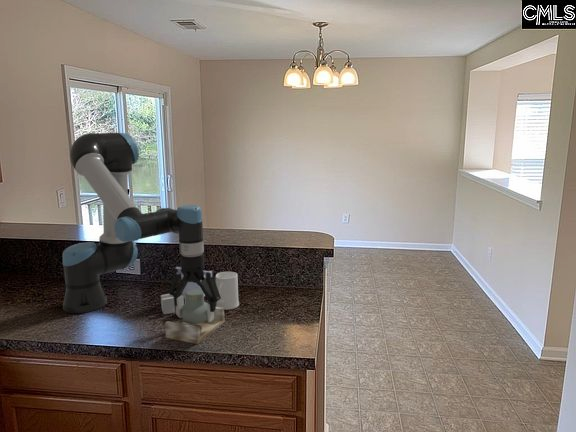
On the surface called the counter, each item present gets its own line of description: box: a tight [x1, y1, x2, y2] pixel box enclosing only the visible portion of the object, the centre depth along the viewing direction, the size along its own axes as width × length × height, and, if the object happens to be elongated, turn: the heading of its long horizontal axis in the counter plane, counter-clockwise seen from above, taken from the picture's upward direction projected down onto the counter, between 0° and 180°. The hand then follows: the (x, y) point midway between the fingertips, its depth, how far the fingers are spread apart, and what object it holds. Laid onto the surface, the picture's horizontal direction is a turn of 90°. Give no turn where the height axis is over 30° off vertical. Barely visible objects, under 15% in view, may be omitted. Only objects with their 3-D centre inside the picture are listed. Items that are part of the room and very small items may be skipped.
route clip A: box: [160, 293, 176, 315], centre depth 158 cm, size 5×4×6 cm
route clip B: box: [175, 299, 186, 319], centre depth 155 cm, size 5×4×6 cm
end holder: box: [164, 306, 226, 345], centre depth 144 cm, size 12×17×5 cm
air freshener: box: [182, 289, 208, 324], centre depth 142 cm, size 11×8×10 cm
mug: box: [215, 271, 240, 311], centre depth 161 cm, size 12×8×12 cm
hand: (195, 317), depth 143 cm, fingers closed on air freshener, 11 cm apart
